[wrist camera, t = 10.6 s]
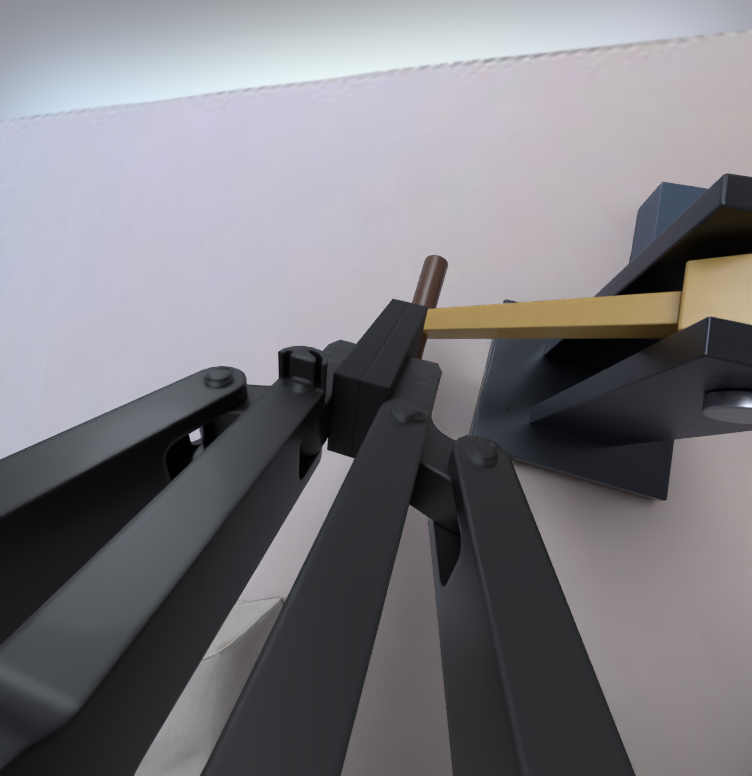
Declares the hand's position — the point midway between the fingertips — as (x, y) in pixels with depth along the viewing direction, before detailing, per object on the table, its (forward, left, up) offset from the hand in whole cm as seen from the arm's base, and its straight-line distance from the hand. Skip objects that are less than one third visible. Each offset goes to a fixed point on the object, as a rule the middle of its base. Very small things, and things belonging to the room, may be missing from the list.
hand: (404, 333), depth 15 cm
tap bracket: (-9, -1, -7) cm, 12 cm away
